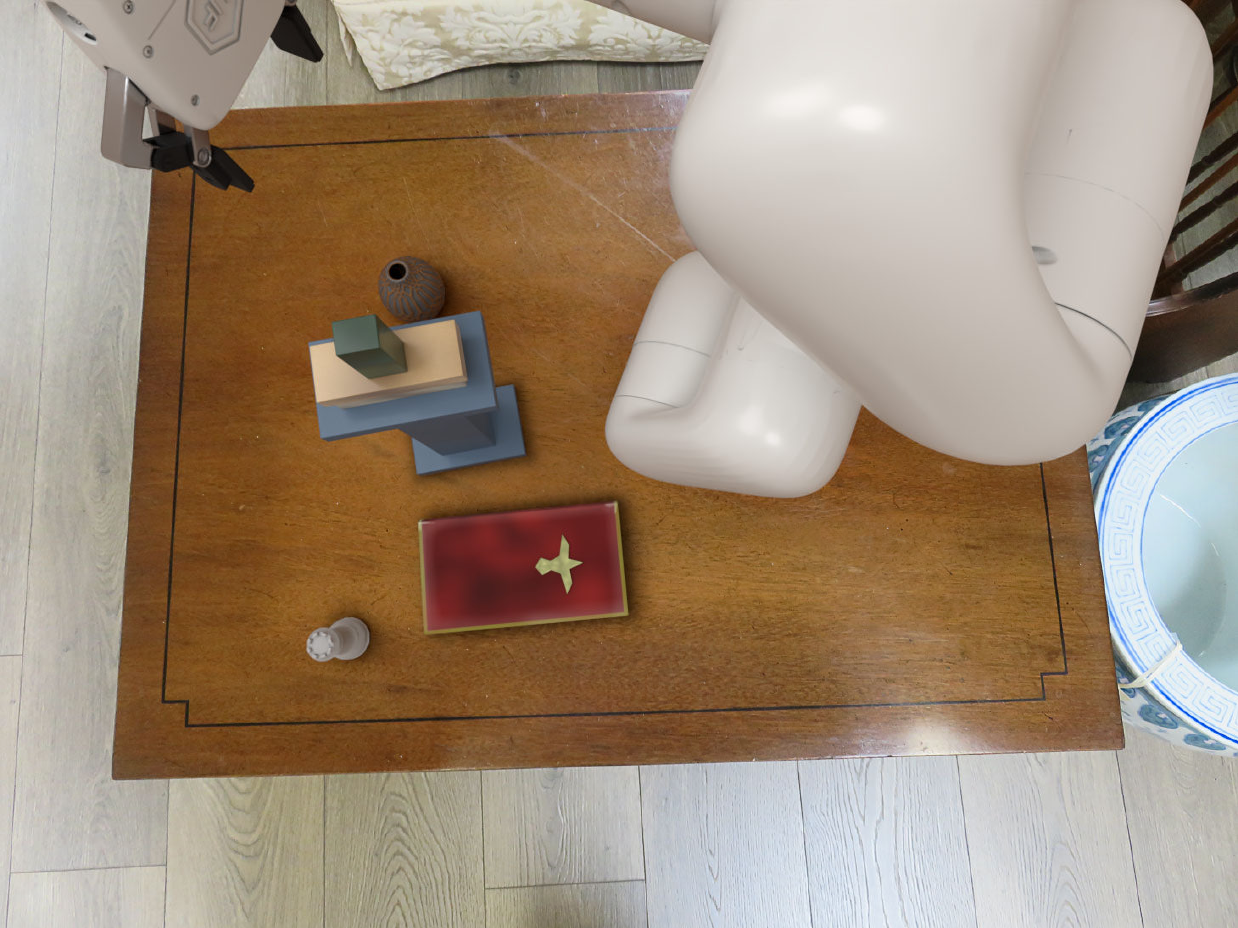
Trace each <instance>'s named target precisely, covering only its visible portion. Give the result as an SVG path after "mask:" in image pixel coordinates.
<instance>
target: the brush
mask: <svg viewBox="0 0 1238 928" xmlns="http://www.w3.org/2000/svg"><path fill="white" fill-rule="evenodd" d="M389 327H390V326H388V325H387V324H386V323H385V322H384V321H383V320H382V319H381V318H380V317H379V316H378V315H377V314H376V313H372V314H367V315H362V316H361V315H360V316H355V317H351V318H346V319H340V320H339V319H338V320H334V321H331V330H332V338H334V342H330V343H325V344H319V345H314V346H310V352H309V355H310V354H311V360H310V363H311V362H312V368H311V371H312V370H313V376H312V378H313V377H314V384H313V386H314V385H315V391H314V394H315V393H316V399H315V402H316V401H317V403H319V404H321V405H323V406H324V407H329V406H337V407H339V408H341V409H346V408H352V407H357V406H363V405H368V404H373V403H379V402H384V401H389V400H395V399H400V398H406V397H411V396H416V395H422V394H427V393H432V392H438V391H443V390H448V389H454V388H459V387H465V386H467V383H466V381H468V378H467V372H466V366H465V359H464V353H463V347H462V341H461V334H460V328H459V326H458V324H457V323H456V321H455V320H449V321H443V322H438V323H433V324H427V325H422V326H416V327H411V328H406V329H400V330H395V331H392V330H391V329H390V328H389Z"/></svg>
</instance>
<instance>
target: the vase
mask: <svg viewBox="0 0 1238 928" xmlns="http://www.w3.org/2000/svg"><path fill="white" fill-rule="evenodd" d="M377 282H378V283H377V289H378V294H379V298H380V300H381V303H382V304H383V306H384V307H385V309H386V310H387V311H388V312H389V313H390V314H391V315H392V316H393V317H394V318H396V319H398V320H399V321H402V322H405V323H407V324H410V323H415V322H421V321H426V320H432V319H435V317H436V316H438V314H439V313H440V312H441V310H442V309H443V307H444V304H445V300H446V288H445V283H444V281H443V278H442V277H441V274H439V272H438V271H437V269H436V268H435V267H434V266H433V265H432V264H430V262H428V261H427V260H425V259H423V258H420V257H417V256H411V255H402V256H398V257H396V258H394V259H392V260H390V261H389V262H387V263H386V264H385V266H384V267H383V268H382V269H381V271H380V274H379V277H378V281H377Z"/></svg>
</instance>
